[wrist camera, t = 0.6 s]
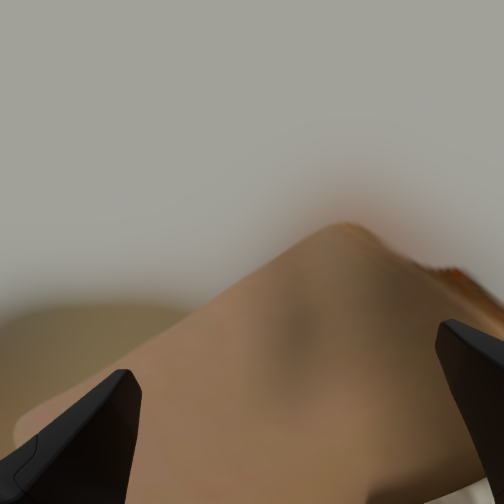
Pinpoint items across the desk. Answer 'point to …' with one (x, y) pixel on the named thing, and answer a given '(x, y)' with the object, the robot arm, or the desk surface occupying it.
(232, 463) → the desk surface
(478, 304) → the desk surface
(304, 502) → the desk surface
